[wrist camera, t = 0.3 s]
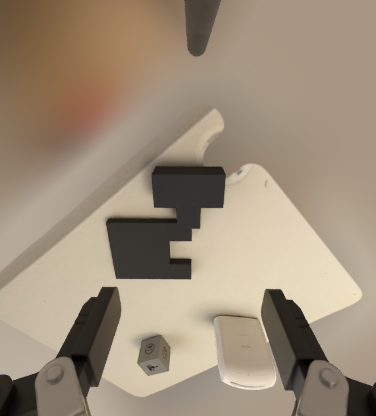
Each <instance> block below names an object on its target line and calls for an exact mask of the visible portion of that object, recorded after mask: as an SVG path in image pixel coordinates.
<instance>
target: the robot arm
mask: <svg viewBox="0 0 376 416" xmlns="http://www.w3.org/2000/svg"><path fill="white" fill-rule="evenodd" d="M120 316H121V303H120V297H119V292H118V288H117V287H102V288H101V290H100V292H99V295H98V297H91V298H90V299H89V300H88V301H87V302H86V303H85V304H84V305H83V307H82V309H81V311H80V313H79V316H78V317H77V318H76V320H75V323H74V324H73V326H72V328H71V330H70V332H69V334H68V336H67V338H66V340H65V342H64V343H63V345H62V347H61V349H60V351H59V353H58V355H57V356H56V358H55V359H54V360H52V361H50V362H49V363H47V364H46V365H45V366H44V367H43V368H42V369H41V370H40V371H39V372H37V373H35V374H32V375H29V376H26V377H22V378H19V379H16V380H13V381H12V379H11V378H10V376H8V375H0V416H91V413H90V409H89V406H88V402H87V399H86V397H87V394H88V392H89V389H90V387H98V385H99V382H100V379H101V376H102V373H103V370H104V367H105V364H106V360H107V357H108V354H109V351H110V348H111V345H112V342H113V339H114V336H115V333H116V329H117V326H118V323H119V320H120ZM261 316H262V321H263V324H264V327H265V330H266V333H267V337H268V340H269V343H270V346H271V349H272V352H273V355H274V358H275V361H276V364H277V367H278V370H279V373H280V377H281V379H282V383H283V386H284V389H285V390H293V391H294V394H295V397H296V401H295V404H294V407H293V411H292V415H291V416H376V383H375V384H374V385H373V386H370V385H367V384H364V383H361V382H358V381H356V380H352V379H350V378H348V377H346V376H344V375H343V374H342V372H341V371H340V370H339V369H338V368H337V367H335V366H334V365H332V364H331V363H329V361H328V360H327V358H326V356H325V354H324V352H323V350H322V349H321V347H320V345H319V343H318V341H317V339H316V337H315V335H314V333H313V332H312V330H311V328H310V327H309V324H308V322H307V320H306V319H305V316H304V314H303V312H302V311H301V309H300V307H299V306H298V305H297V304H296V303H295V302H294V301H293V300H286V298H285V296H284V294H283V292H282V290H281V289H266V290H265V293H264V298H263V303H262V307H261Z"/></svg>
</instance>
